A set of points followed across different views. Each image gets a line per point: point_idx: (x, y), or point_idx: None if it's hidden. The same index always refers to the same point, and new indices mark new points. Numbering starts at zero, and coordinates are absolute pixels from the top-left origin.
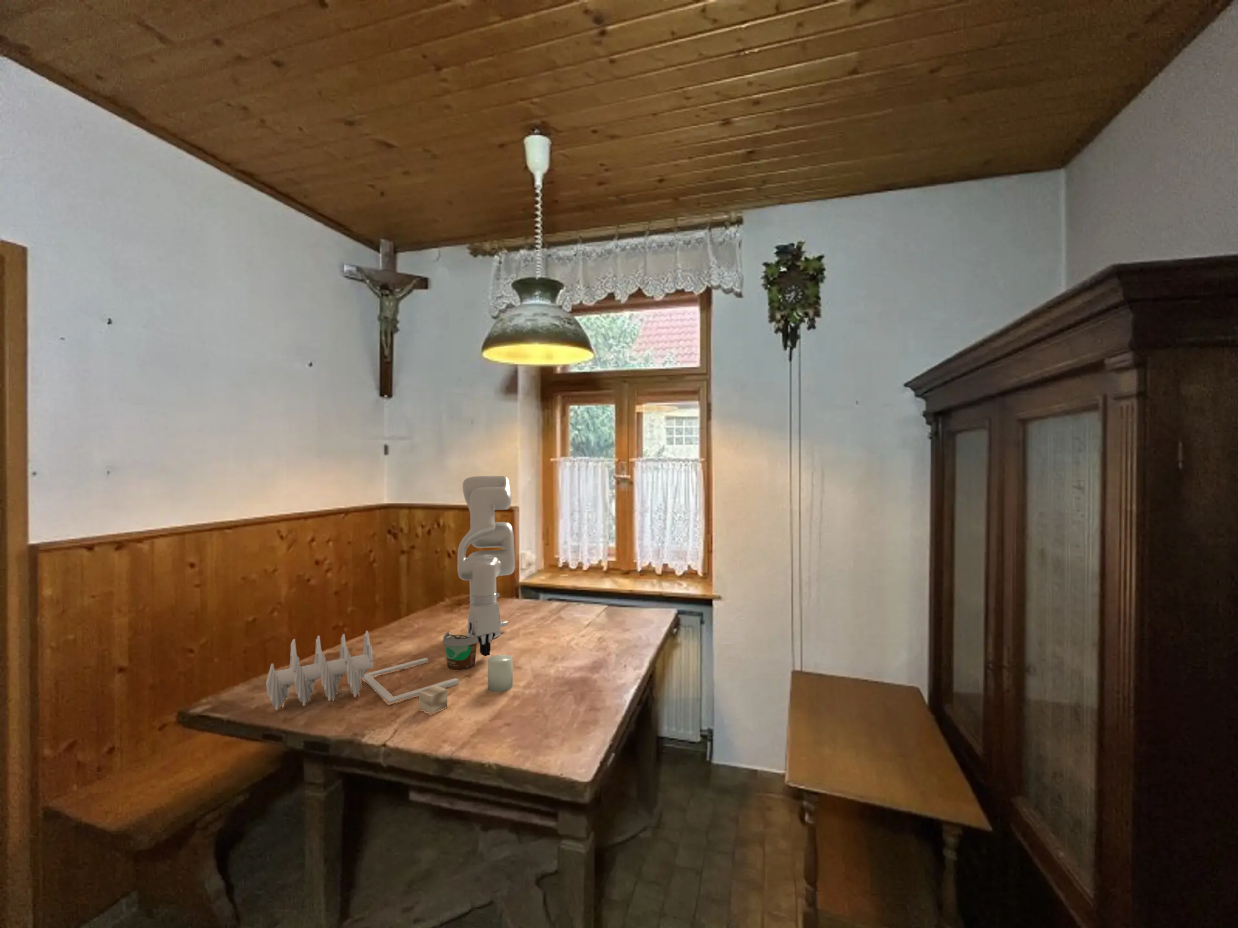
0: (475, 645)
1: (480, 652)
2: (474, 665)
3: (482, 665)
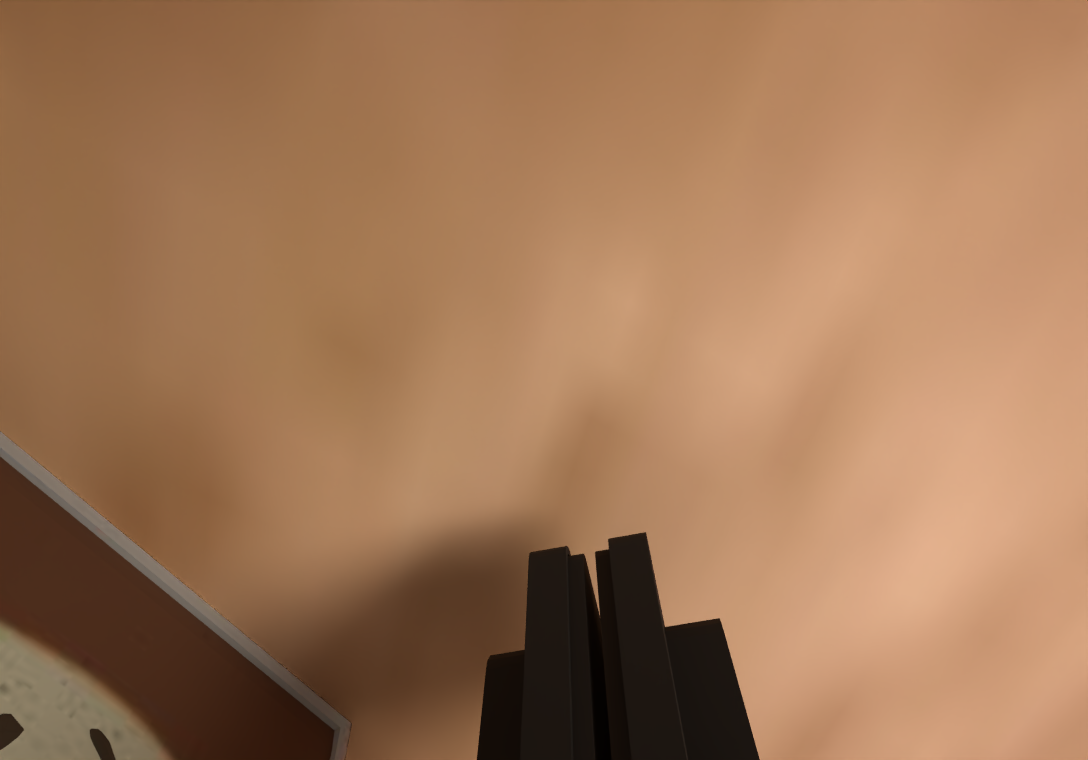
0: None
1: (494, 667)
2: (337, 746)
3: (474, 751)
